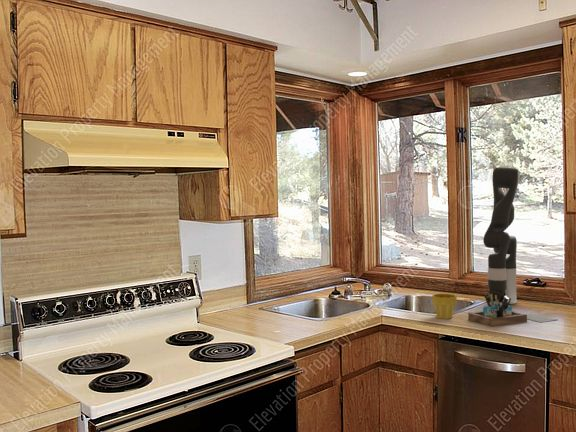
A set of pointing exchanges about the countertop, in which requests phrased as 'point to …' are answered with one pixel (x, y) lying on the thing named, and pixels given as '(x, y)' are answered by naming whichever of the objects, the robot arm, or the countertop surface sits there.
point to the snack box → (492, 311)
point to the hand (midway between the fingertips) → (497, 318)
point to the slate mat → (539, 318)
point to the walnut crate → (497, 319)
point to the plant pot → (444, 305)
